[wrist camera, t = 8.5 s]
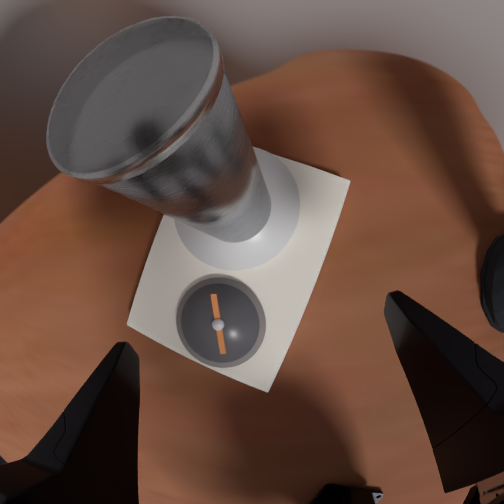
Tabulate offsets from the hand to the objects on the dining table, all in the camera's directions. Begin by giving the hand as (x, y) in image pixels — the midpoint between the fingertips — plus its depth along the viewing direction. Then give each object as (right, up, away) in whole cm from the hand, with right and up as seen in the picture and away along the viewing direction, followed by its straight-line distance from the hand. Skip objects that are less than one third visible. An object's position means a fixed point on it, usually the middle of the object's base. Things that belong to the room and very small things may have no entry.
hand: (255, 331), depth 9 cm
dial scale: (-1, +2, +12) cm, 12 cm away
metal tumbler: (-1, +6, +10) cm, 12 cm away
